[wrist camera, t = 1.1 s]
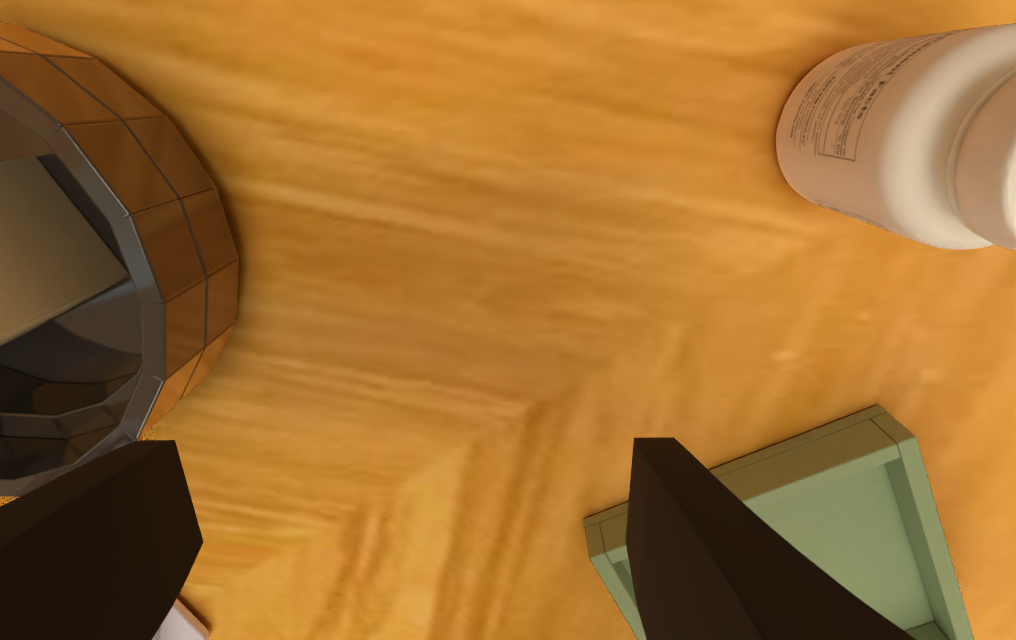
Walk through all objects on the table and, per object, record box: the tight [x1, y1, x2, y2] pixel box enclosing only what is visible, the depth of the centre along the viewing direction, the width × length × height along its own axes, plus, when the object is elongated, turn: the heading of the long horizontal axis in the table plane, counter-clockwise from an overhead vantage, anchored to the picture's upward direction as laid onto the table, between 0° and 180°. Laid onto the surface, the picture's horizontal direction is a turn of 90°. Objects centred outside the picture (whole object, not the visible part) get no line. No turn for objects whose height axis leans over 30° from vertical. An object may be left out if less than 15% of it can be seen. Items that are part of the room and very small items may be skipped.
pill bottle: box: [776, 23, 1016, 250], centre depth 12 cm, size 4×4×8 cm
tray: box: [583, 405, 974, 640], centre depth 21 cm, size 11×11×2 cm
